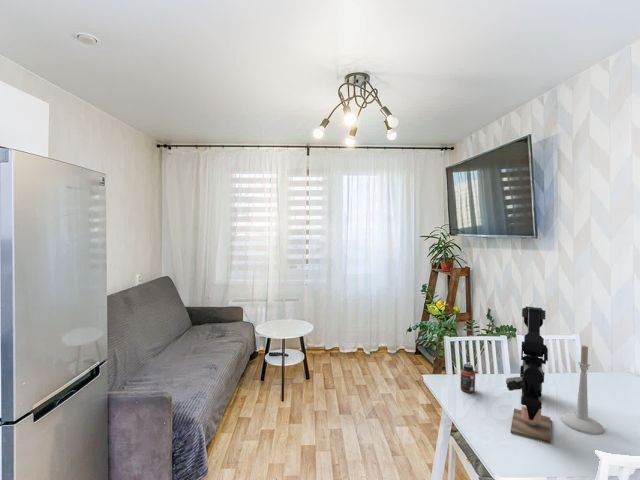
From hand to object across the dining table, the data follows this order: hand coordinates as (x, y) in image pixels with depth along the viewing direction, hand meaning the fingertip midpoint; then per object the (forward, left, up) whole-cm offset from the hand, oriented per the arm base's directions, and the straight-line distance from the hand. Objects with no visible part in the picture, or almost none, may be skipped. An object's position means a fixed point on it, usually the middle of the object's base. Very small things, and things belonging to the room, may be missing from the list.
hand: (531, 415), depth 132 cm
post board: (0, 0, -4) cm, 4 cm away
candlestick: (-12, +16, -4) cm, 20 cm away
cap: (0, 0, -1) cm, 1 cm away
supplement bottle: (-18, -25, -4) cm, 31 cm away
